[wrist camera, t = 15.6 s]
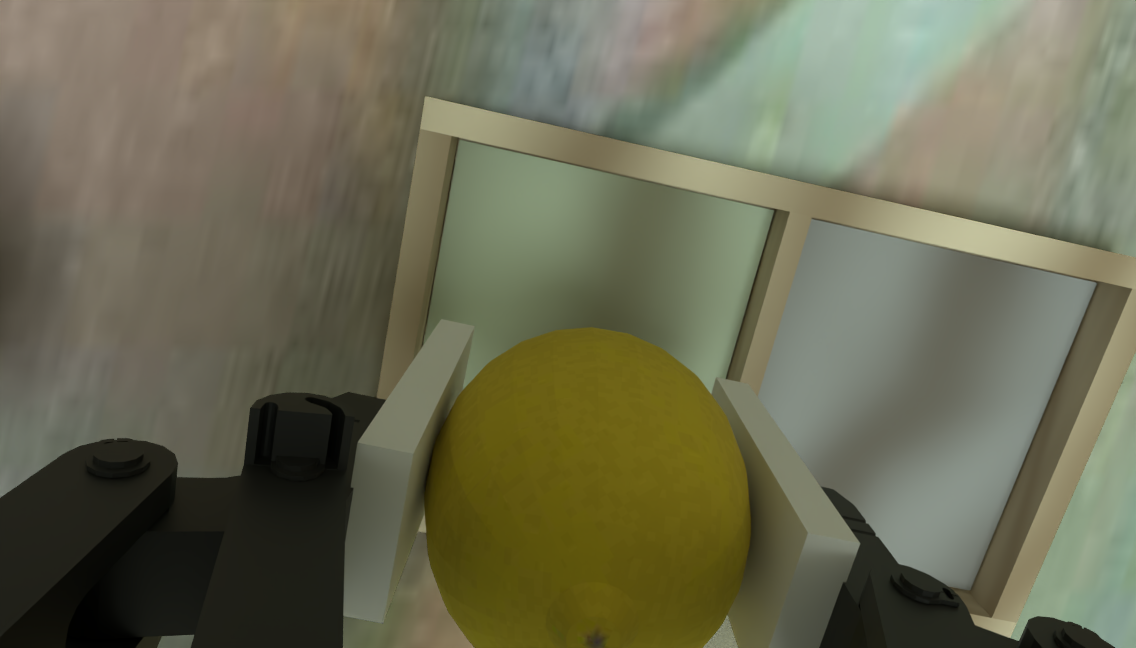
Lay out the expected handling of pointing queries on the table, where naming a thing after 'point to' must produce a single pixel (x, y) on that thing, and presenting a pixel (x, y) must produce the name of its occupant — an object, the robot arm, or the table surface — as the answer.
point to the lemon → (587, 499)
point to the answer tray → (792, 323)
